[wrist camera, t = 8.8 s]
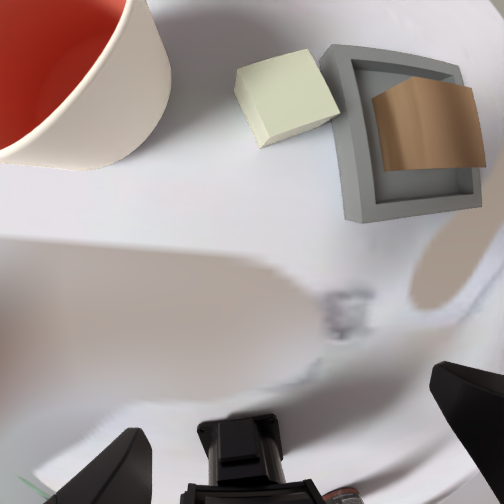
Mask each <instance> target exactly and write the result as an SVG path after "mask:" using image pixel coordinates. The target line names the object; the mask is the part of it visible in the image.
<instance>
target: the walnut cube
mask: <svg viewBox="0 0 504 504" xmlns="http://www.w3.org/2000/svg"><path fill="white" fill-rule="evenodd" d="M372 104H373V109H374V113H375V119H376V124H377V129H378V135H379V141H380V147H381V153H382V160H383V167H384V172H387V171H402V170H421V169H444V168H476V167H486V162H485V154H484V147H483V141H482V134H481V129H480V123H479V118H478V114H477V109H476V105H475V100H474V96H473V92H472V88H469V87H465V86H461V85H457V84H452V83H447V82H443V81H437V80H432V79H427V78H421V77H414V76H413V77H411V78H409V79H407V80H405V81H403V82H401V83H399V84H398V85H396V86H394V87H392V88H390V89H388V90H386V91H385V92H383V93H381V94H379V95H377V96H375V97H374V98H372Z"/></svg>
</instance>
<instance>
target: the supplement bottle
mask: <svg viewBox="0 0 504 504" xmlns="http://www.w3.org/2000/svg"><path fill="white" fill-rule="evenodd" d="M322 498H323V499H324V501H325V503H326V504H364V502H363V500H362V498H361V496H360V495H359V492H358V491H357V490H355V489H353V488H346V489H339V490H336V491H334V492H331V493H329V494H327V495H325V496H323V497H322Z"/></svg>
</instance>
